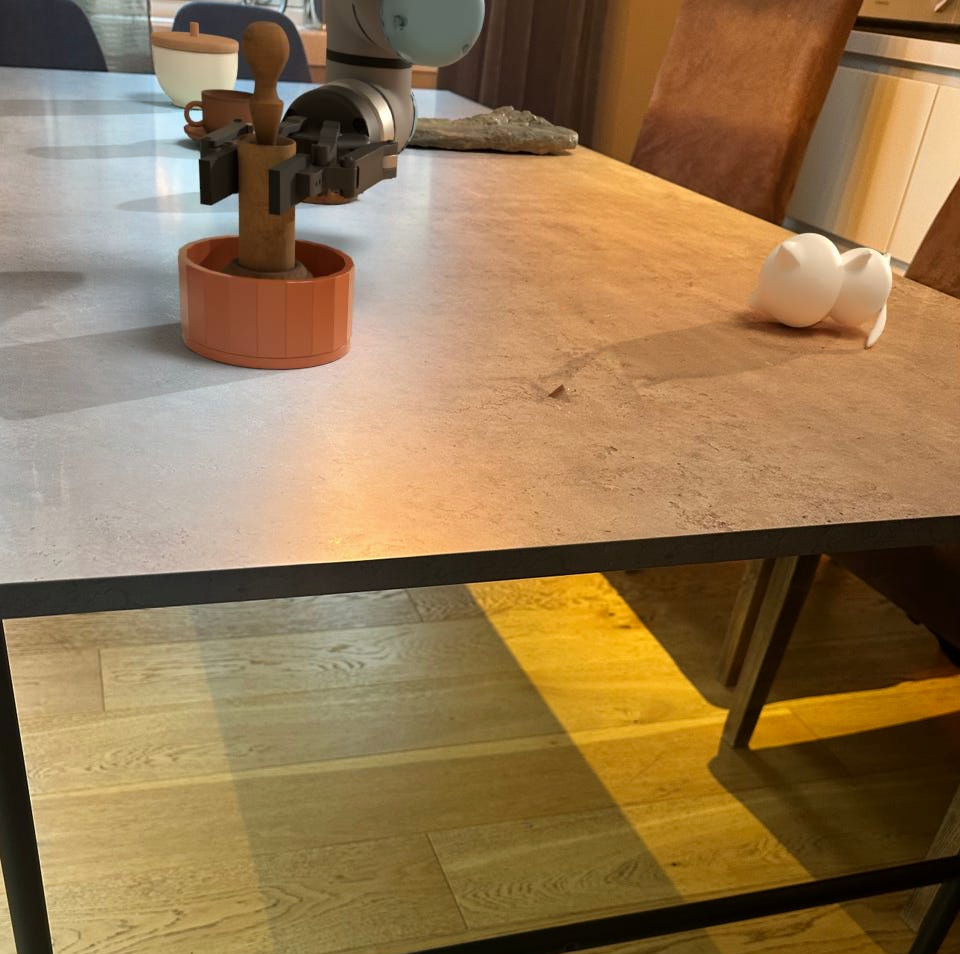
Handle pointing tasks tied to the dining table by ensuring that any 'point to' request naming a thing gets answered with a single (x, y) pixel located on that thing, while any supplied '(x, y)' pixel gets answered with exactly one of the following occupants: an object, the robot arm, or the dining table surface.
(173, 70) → the lidded bowl
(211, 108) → the cup and saucer
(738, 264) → the dining table surface
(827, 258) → the cat figurine
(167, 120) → the dining table surface
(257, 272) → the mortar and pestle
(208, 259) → the crock
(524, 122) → the long grey stone
